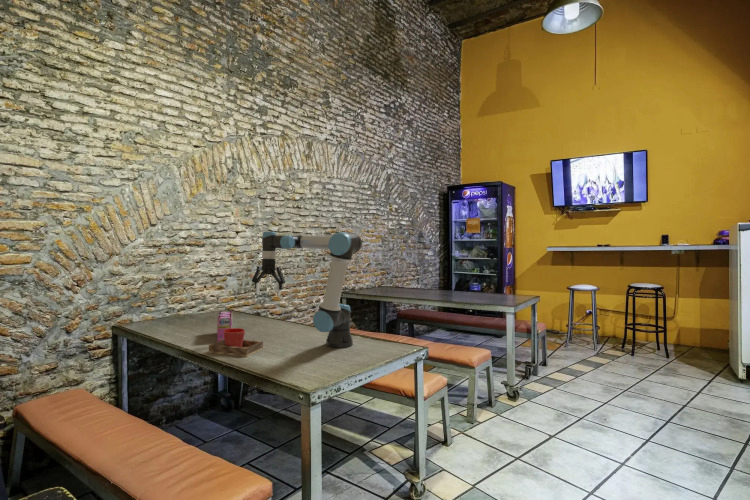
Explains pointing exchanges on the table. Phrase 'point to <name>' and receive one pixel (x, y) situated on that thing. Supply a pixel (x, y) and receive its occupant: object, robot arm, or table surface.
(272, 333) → the table surface
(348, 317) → the robot arm
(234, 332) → the flower pot
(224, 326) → the gum box
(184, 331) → the table surface
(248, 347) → the wooden tray
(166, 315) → the table surface
